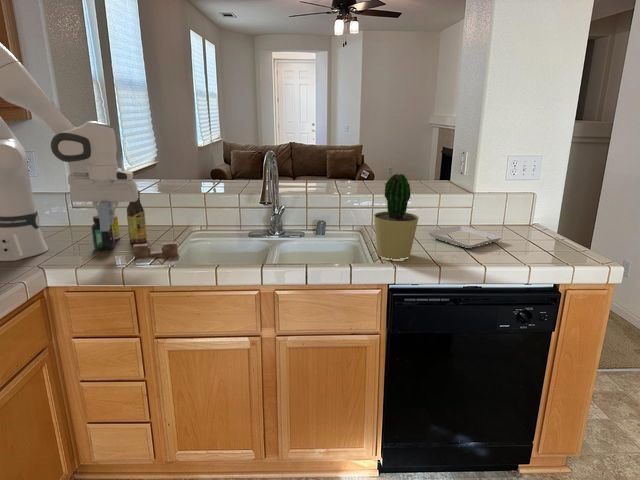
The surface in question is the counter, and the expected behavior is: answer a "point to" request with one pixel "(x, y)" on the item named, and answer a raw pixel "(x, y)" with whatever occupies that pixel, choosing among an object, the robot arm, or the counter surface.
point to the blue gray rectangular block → (105, 215)
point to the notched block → (144, 251)
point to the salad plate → (444, 231)
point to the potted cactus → (395, 221)
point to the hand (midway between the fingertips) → (106, 214)
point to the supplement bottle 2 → (115, 228)
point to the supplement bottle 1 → (101, 236)
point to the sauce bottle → (136, 221)
